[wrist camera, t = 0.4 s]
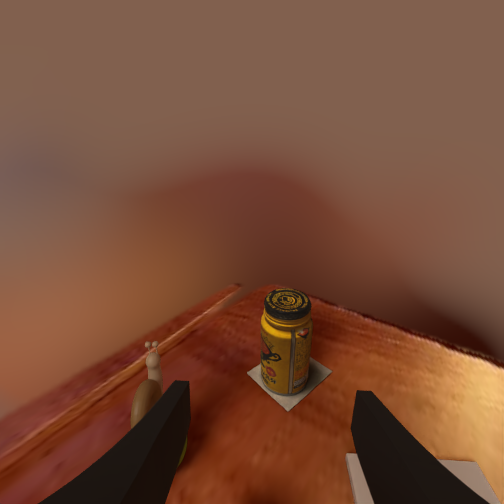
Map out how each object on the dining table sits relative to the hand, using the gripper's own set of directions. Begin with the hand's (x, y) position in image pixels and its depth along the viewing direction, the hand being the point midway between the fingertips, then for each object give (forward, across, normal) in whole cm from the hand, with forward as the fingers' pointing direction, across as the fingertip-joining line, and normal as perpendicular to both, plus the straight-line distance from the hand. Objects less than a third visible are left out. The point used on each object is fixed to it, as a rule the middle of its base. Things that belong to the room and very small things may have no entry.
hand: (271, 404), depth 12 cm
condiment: (+22, -4, +16) cm, 27 cm away
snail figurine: (+11, +10, +18) cm, 23 cm away
